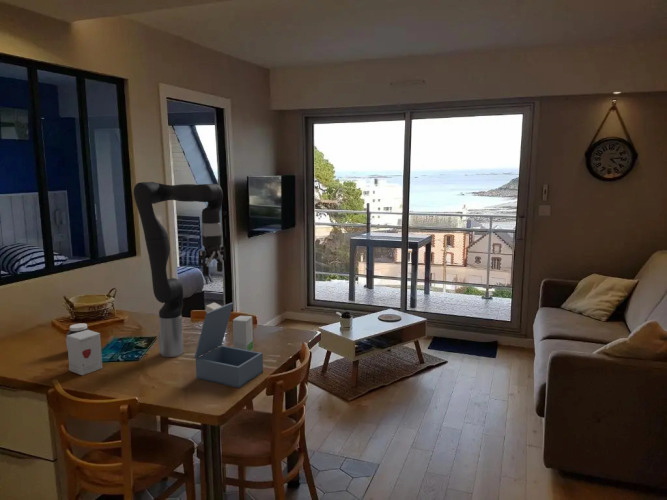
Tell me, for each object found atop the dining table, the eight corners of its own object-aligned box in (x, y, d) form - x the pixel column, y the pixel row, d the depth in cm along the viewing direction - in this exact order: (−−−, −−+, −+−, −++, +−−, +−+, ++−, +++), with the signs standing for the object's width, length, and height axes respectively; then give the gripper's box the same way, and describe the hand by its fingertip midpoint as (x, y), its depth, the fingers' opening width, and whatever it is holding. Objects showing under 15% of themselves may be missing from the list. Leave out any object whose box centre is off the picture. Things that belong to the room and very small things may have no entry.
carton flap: (195, 358, 182) (185, 352, 184) (221, 345, 196) (212, 339, 198) (207, 313, 176) (197, 307, 178) (233, 302, 191) (223, 297, 192)
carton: (196, 378, 183) (195, 358, 182) (222, 363, 198) (221, 345, 196) (239, 388, 175) (238, 367, 174) (263, 372, 190) (262, 353, 188)
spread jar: (87, 345, 218) (85, 321, 216) (100, 350, 212) (98, 325, 210) (60, 353, 208) (57, 328, 207) (72, 359, 202) (70, 333, 200)
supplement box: (81, 376, 185) (78, 339, 183) (68, 371, 190) (65, 335, 188) (103, 368, 193) (100, 332, 191) (90, 363, 198) (87, 329, 195)
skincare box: (246, 355, 207) (245, 321, 204) (232, 354, 208) (231, 320, 205) (253, 348, 215) (253, 315, 212) (240, 347, 216) (239, 314, 213)
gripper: (215, 231, 198) (216, 269, 201) (192, 235, 185) (193, 276, 188) (230, 232, 195) (231, 271, 198) (207, 236, 182) (209, 277, 185)
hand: (213, 273), depth 193 cm, fingers open, 8 cm apart
